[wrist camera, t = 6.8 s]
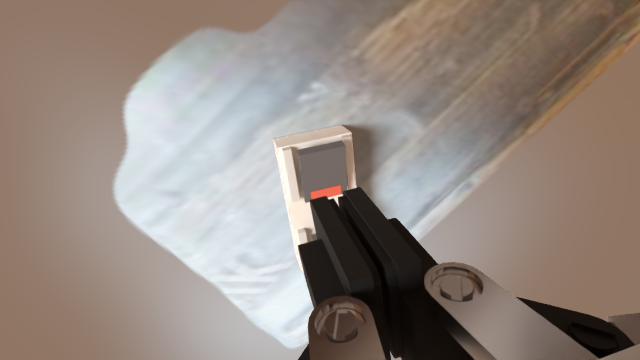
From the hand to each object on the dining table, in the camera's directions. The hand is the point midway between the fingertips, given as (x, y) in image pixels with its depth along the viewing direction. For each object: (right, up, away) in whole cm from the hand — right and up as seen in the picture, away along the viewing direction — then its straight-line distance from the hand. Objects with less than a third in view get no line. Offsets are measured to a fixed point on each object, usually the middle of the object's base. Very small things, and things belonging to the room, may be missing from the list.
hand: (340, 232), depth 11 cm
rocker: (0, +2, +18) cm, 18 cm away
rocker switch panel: (-1, 0, +24) cm, 24 cm away
